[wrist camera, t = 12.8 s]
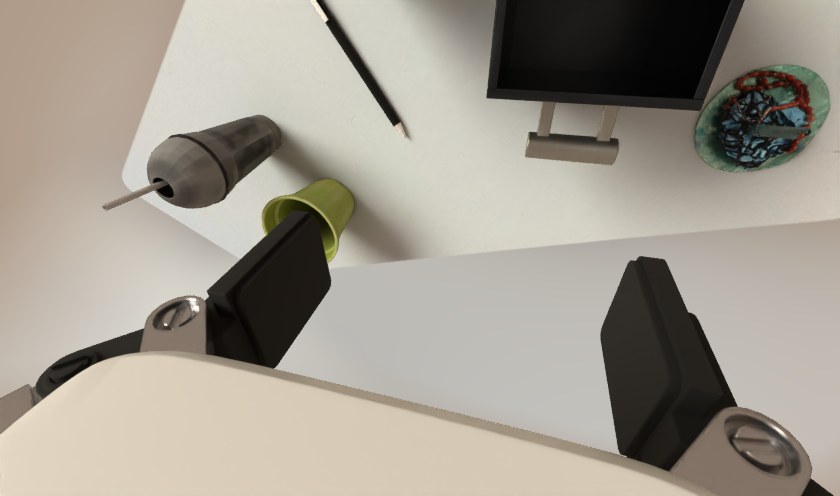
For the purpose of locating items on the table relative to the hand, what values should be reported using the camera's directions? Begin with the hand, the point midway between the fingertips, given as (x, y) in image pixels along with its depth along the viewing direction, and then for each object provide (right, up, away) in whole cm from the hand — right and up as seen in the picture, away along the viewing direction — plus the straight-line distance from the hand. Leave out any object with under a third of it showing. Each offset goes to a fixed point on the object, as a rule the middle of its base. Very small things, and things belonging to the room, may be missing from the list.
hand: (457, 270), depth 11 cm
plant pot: (-13, +7, +37) cm, 40 cm away
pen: (-8, +20, +26) cm, 34 cm away
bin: (+12, +18, +20) cm, 30 cm away
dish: (+28, +12, +20) cm, 36 cm away
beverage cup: (-20, +15, +34) cm, 42 cm away
